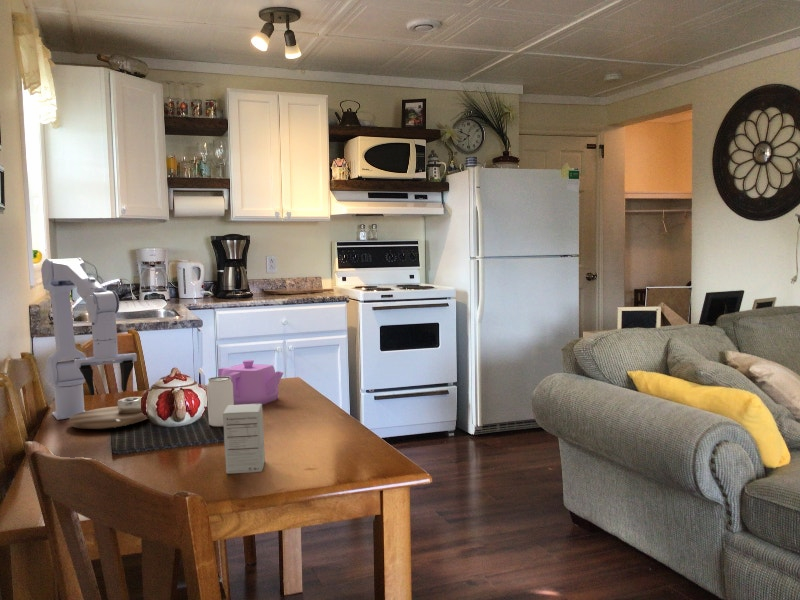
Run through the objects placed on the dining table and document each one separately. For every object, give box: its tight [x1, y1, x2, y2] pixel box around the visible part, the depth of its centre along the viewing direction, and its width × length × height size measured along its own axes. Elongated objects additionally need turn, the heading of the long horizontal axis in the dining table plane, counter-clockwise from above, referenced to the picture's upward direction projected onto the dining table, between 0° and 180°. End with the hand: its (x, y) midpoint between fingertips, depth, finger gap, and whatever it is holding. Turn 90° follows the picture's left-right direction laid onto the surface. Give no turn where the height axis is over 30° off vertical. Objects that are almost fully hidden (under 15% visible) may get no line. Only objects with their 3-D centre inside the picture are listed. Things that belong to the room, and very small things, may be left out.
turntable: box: [68, 405, 148, 430], centre depth 188 cm, size 20×20×1 cm
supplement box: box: [223, 404, 266, 474], centre depth 146 cm, size 7×7×13 cm
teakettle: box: [217, 359, 284, 406], centre depth 210 cm, size 17×17×12 cm
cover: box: [117, 396, 143, 414], centre depth 191 cm, size 7×7×3 cm
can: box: [206, 376, 234, 428], centre depth 184 cm, size 6×6×12 cm
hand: (108, 392), depth 180 cm, fingers open, 7 cm apart
